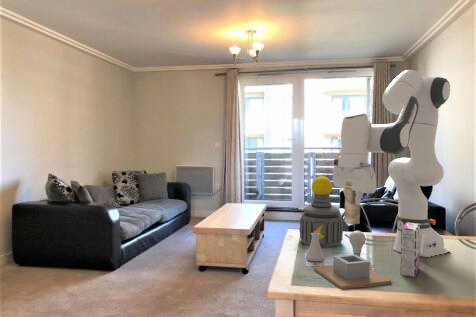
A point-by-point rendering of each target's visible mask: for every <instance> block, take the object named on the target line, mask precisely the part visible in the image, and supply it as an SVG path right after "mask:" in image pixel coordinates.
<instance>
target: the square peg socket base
mask: <svg viewBox="0 0 476 317" xmlns="http://www.w3.org/2000/svg"><path fill="white" fill-rule="evenodd" d="M332 258H333V262H332V265H323V266H321V265H320V266H314V269H313V270H314V271H315V272H316V273H318V274H320V276H322V277H324V278H326V279H327V280H328V281H329V282H331V283H332V284H333V285H335V286H336V287H337V288H339V289H341V290H348V289H357V288H366V287H373V286H383V285H385V286H386V285H392V280H391V279H389V278H387V277H385V276H383V275H382V274H380V273H378V272H376V271H374V270H373V269H371V266H370V265H371V261H369V260H367V259H366V258H363V257H361V256H360V257H359V256H357V255H355V254H353V253H352V254H343V255H333V256H332Z"/></svg>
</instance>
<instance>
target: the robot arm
mask: <svg viewBox="0 0 476 317" xmlns="http://www.w3.org/2000/svg"><path fill="white" fill-rule="evenodd" d="M450 84H451V83H450V81H448V79H447V78H444V77H440V76H436V77H431V76H429V77H428V76H422V75H421V73H420V72H418V71H416V70H415V69H414V70H413V69H405V70H404V71H402V72H401V73H400V74H397V76H396V77H395V78H393V80H392V81H391V82H390V83H389V84H388V86H387V87H386V88H385V90H384V92H383V94H382V98H381V99H382V104H383V106H384V107H385V109H386V111H388V112H389V113H391V114H394V115H395V116H396V115H397V116H398V117H397V119H396V121H395V122H391V123H384V124H383V123H381V124H380V123H379V124H378V123H377V124H375V123H374V124H373V123H372V122H370V121H369V119H368V114H366V113H361V112H360V113H359V112H358V113H351V114H347V115H345V116H344V117H343V119H342V123H341V131H340V141H341V148H340V149H341V150H340V152H339V153H340V156H338V157H336V158H334V159H333V160H332V166H333V169H332V185H333V186H334V187H337V188H340V189H342V190H343V191H342V192H343V194H344V196H345V187H349V188H351V189H352V190H353V191H355V194H356V197H355V199H354V202H353V203H354V204H355V205H360V206H361V202H362V198H363V196H364V194H375V192H376V191H377V177H376V172H375V168H374V167H373V165H372V164H371V163H369V153H375V154H376V153H378V154H381V153H383V154H390V155H399V154H401V153H403V151H405V150H406V149H407V147H409V148H408V149H409V152H410V157H405V156H403V157H400V158H399V157H398V158H395V159H393V160H392V161H390V162H389V164H388V166H387V172H388V175H389V177H390V178H391V179H392V182H393V183H394V186H395V188H396V193H397V198H398V211H397V212H398V215H397V217H396V227H397V229H396V235H395V241H394V245H393V247H392V249H393V250H394V251H395V252H397V253H401V229H402V227H403V226H404V225H405V223H406V222H409V223H417V224H420V248H419V257H425V258H431V256H432V257H436V256H435V255H437V256H440V255H439V254H442V255H445V254H444V253H447V252H450V253H451V250H450V249H449V248H448V247H446V246H445V242H444V238H443V236H442V235H441V234H439V233H438V232H437V231H436V230H434V229H433V228H432V227H431V225H435V224H436V219H432V218H430V219H429V218H428V208H429V201H428V198H427V197H426V196H425V195H424V193H423V190H422V189H421V187H430V186H436V185H438V184H439V183H441V181H442V180H443V178H444V174H445V173H444V172H445V171H444V168H443V166H442V164H441V163H440V162H439V160H438V158H437V155H436V148H435V147H436V146H435V143H436V135H437V129H438V123H439V109H440V108H441V107H442V105H444V104H445V103H446V102H447V101H448V99H449V98H450V94H451V85H450ZM346 181H349V182H352V185H351V186H347V185H346ZM447 254H448V253H447Z"/></svg>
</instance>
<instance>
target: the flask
mask: <svg viewBox="0 0 476 317" xmlns="http://www.w3.org/2000/svg"><path fill="white" fill-rule="evenodd" d="M311 235H312V240H311V244H310V246H308V247H309V248H308V250H307V253H306V254H305V259H306V260H307V261H311V262H323V261H324V260H325V257H324V254H323V250H322V248H321V247H320V244H319V235H320V234H319V233H311Z"/></svg>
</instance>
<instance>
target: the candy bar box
mask: <svg viewBox="0 0 476 317" xmlns="http://www.w3.org/2000/svg"><path fill="white" fill-rule="evenodd" d="M419 248H420V224H417V223H409V222H406V223H405V225H404V226H403V227H402V229H401V252H400V275H401V276H406V277H410V278H416V277H417V274H418V272H419V269H420V256H419Z"/></svg>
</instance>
